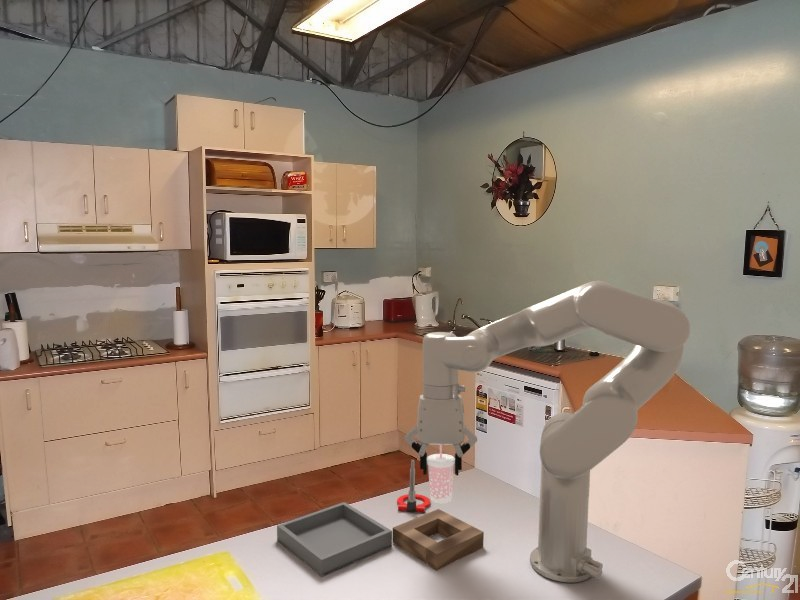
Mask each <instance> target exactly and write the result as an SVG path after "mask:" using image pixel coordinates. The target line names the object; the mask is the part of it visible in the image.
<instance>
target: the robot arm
mask: <svg viewBox="0 0 800 600" xmlns="http://www.w3.org/2000/svg"><path fill="white" fill-rule="evenodd" d="M591 329H592V330H594V331H597V332H599V333H602V334H604V335H606V336H609V337H612V338H615V339H618V340H620V341H625V342H627V343H630V344H633V345H634V346H633V349H632V350H631V351H630V352H629V353H628V354H627V355H626V356H625V358H623V359H622V360H621V361H620V362H619V363H618V364H617V365H616V366H615V367H613V368H612V369H611V370H610V371H609V372H608V373H606V374H605V375H604V376H602V377H601V378H600V379H599V380H598V381H597V382H595V383H594V384H592V385H591V386H590V387H588V389H587V390H586V391H585V393H584V396H583V399H582V405H581V406H580V407H579V408H578V409H577V410H576V411H575V412H573V413H571V412H559V413H557V414H554V415H552V416H551V417H550V418H548V420H547V421H546V422H545V424H544V426H543V429H542V432H541V438H540V444H539V459H540V462H541V464H540V486H539V487H540V489H539V510H538V511H539V514H538V515H539V517H538V542H537V544H538V545H537V546H538V547H536V548H534V549H533V550H532V551H531V553H530V555H529V562H530V566H531V567H532V568H533V570H534V571H536V572H537V573H538V574H540V575H541V576H542V577H545V578H547V579H550V580H552V581H556V582H560V583H562V582H563V583H579V582H583V581H586V580H589V578H591V577H593V578H595V579H596V580H600V579H601V577H602V575H603V567H604V565H603V563H602V562H600V561H598V560H595V559H593V557H592V549H591V548H588V547H587V546H588V545H587V544H588V543H587V542H588V525H589V524H588V523H589V522H588V521H589V501H590V500H589V499H590V498H589V497H590V485H591V484H590V482H591V481H590V479H591V471H592V470H593V468H595V467H596V466H598V465H599V464H600V463H601V462H603V461H604V460H605V459H606V458H607V457H609V456H610V455H611V454H613V453H614V452H615V451H616V450H618V448H620V447H621V446H622V445H623V444H625V443H626V441H628V440H629V438H630V437H631V436H632V435H633V434H634V432H635V430H636V427H637V425H638V418H639V415H638V411H639V409H640V408H642V407H643V406H644V405H645V404H646V403H647V402H648V401H649V400H651V399H652V398H653V397H654V396H655V395H657V393H658V392H659V391H660V390H661V389H663V388H664V387H665V386H666V385H667V384H668V383H669V382H670V380H672V378H673V377H674V376H675V374H676V372H677V370H678V368H679V366H680V363H681V362H682V361H681V360H682V357H683V355H684V354H683V353H684V346H685V343H686V342H687V341H688V339H689V337H690V333H691V324H690V321H689V317H687V315H686V313H685V312H683V310H681V309H680V308H679V307H677V306H676V305H675V304H674V303H671V302H670V301H667V300H664V299H651V298H648V297H647V298H646V297H644V296H640V295H638V294H635V293H632V292H628V291H626V290H623V289H621V288H617V287H615V286H614V285H613V284H612V283H610V282H608V281H605V280H598V279H597V280H593V281H589V282H586V283H583V284H581V285H579V286H577V287H574V288H572V289H569V290H567V291H564V292H563V293H560V294H558V295H555V296H552V297H550V298H548V299H545V300H543V301H540V302H538V303H535V304H533V305H531V306H529V307H526V308H523V309H522V310H520V311H518V312H516V313H513V314H511V315H508V316H506V317H503V318H501V319H498V320H495V321H494V322H492V323H489V324H486V325H484V326H481V327H480V328H476V329H475V330H473V331H471V332H469V333H468V334H467V335H465V336H457V335H456V334H455V333H453V332H446V331H445V332H444V331H436V332H435V331H434V332H429V333H426V334H425V335H424V336H423V339H422V394H420V395H419V399H418V405H417V417H416V418H417V419H416V420H417V421H416V425H414V426H413V427H412V429H410V430H409V432H407V433H406V434H405V435H404V440H405V442H406V443H407V444H408V445H409V446H411V448H412V449H413V450H414V451H415V452H416V453H417V454H418V456H419V469H420V470H423V471H422V474H423V475H425V476H426V475H427V473H428V464H427V457H428V453H427V449H428V446H429V445H439V446H440V445H442V446H443V445H444V446H445V445H446V446H449V445H450V446H451V445H452V446H453V448H454V450H455V453H454V458H455V464H454V475H456V476H459V471H462V470H463V467H462V465H463V464H462V461H463V460H462V459H463V457H464V455H465V454H466V453H467V452H468V451H469V450H470V449H471V447H473V446H474V445H475V444H476V443H477V442H478V436H477V435H476V434H474V432H472V431H471V430H470V428H468V427H467V426H466V425H465V424H466V423H465V410H464V402H463V401H464V400H463V396H462V395H460V394H461V393H465V392H466V385H462V384H460V383H459V371H462V372H468V373H480V372H483V371H485V370H486V369H487V368H488V367H490V365H491V364H492V362H493V361H494V360H496V359H497V358H501V357H503V356H505V355H508V354H511V353H513V352H515V351H516V352H517V351H518V350H522V349H525V348H529V347H547V346H551V345H553V344H555V343H557V342H561V341H563V340H565V339H568V338H570V337H573V336H575V335H578V334H580V333H583V332H586V331H589V330H591ZM415 436H416V439H417V441H416V440H415V439H414V437H415ZM465 436H466V437H467V438H468V439H467V441H465ZM461 444H462V445H461Z"/></svg>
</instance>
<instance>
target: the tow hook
mask: <svg viewBox="0 0 800 600" xmlns="http://www.w3.org/2000/svg"><path fill="white" fill-rule="evenodd" d="M415 477H416V469H415V460H414V459H411V460H410V468H409V490H408V494H403V495H400V496H399V497H398V498H397V500H396V503H397V511H399V512H400V511H401V512H407V513H421V512H423V514H426V513H425V512H426V509H427V508H429V507H430V506H431V499H430V498H429V497H427V496H426V495H422V494H418V493H417V494H416V491H415V480H416V479H415ZM417 500H419V501H422V502H423V503H421V504H417ZM405 501H407V502H405Z"/></svg>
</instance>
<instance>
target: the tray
mask: <svg viewBox="0 0 800 600" xmlns="http://www.w3.org/2000/svg"><path fill="white" fill-rule="evenodd" d="M276 540H277V542H279V543H280V544H281V545H282V546H283V547H284V548H286V549H287V550H289V552H290V553H292V554H293V555H294V556H296V557H297V558H298V559H299V560H300V561H302V562H303V563H304V564H306V566H307V567H309V568H310V569H311V570H313V571H314V572H315V573H317V574H318V575H319V576H320V577H321V578H323V577H324V576H327V575H329V574H332V573H334V572H336V571H338V570H341V569H343V568H345V567H348V566H349V565H352V564H354V563H356V562H359V561H362V560H364V559H365V558H368V557H370V556H373V555H375V554H377V553H380V552H382V551H384V550H387V549H389V548H391V547H393V530H391V529H390V528H387V527H386V526H385V525H383V524H381V523H380V522H378V521H376V520H375V519H374V518H371V517H370V516H368V515H366V514H365V513H363V512H362V511H360V510H359V509H357V508H355V507H353V506H352V505H350V504H349V503H347V502H345V501H344V502H340V503H337V504H335V505H331V506H328V507H326V508H323V509H321V510H317V511H315V512H311V513H309V514H308V513H307V514H305V515H303V516H300V517H296V518H294V519H291V520H288V521H285V522H283V523H280V524H278V525H276Z"/></svg>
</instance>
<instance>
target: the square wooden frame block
mask: <svg viewBox="0 0 800 600" xmlns="http://www.w3.org/2000/svg"><path fill="white" fill-rule="evenodd" d="M436 534H439V535H441V536H442V535H443V536H442V537H444V536H445V537H444V539H442V540H440V541H436V540H435V539H433V538H431V537H433V536H435V535H436ZM432 535H433V536H432ZM392 544H394V545H395V546H397V547H399V549H401V550H403V551H405V552H406V553H408V554H409V555H411V556H412V557H414V558H416V559H417V560H419V561H421V562H422V563H424V564H425V565H426V566H428V567H431V568H432V569H433V570H435V571H436V572H437V571H439V570H441V569H444V568H445V567H447V566H450V565H452V564H453V563H455V562H457V561H459V560H461V559H463V558H465V557H466V556H469V555H471V554H473V553H474V552H477V551H479V550H481V549H483V548H484V531H482V530H480V529H479V528H476V526H473V525H471V524H469V523H468V522H465V521H463V520H462V519H459V518H457V517H455V516H453V515H451V514H449V513H447V512H445V511H443V510H441V509H439V508H438V509H435V510H433V511H430V512H428V513H424V514H423V515H420V516H418V517H415V518H413V519H411V520H408V521H406V522H403V523H401V524H398V525H396V526H393V527H392Z"/></svg>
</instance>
